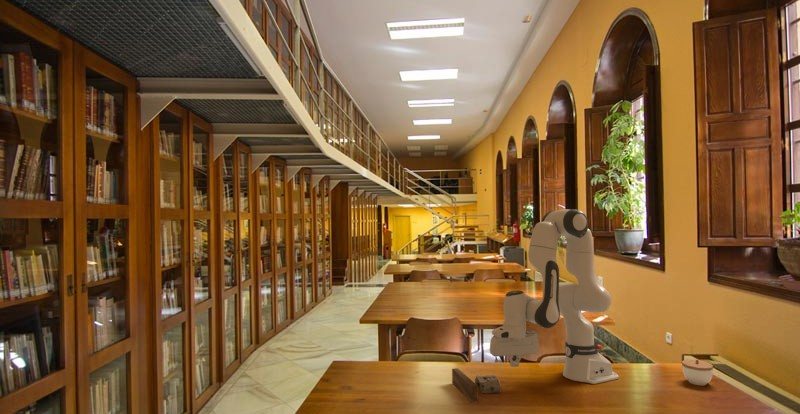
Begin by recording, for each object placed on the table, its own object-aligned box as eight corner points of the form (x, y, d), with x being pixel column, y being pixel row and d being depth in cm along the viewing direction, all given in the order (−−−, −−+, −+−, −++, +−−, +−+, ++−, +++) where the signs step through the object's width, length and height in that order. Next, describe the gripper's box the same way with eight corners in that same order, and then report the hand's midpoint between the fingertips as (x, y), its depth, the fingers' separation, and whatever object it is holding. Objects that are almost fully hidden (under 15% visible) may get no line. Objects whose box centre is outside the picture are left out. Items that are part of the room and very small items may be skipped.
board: (458, 382, 192) (457, 368, 192) (477, 401, 173) (477, 385, 173) (452, 383, 191) (452, 368, 191) (471, 402, 172) (471, 386, 172)
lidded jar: (686, 376, 197) (685, 354, 197) (716, 382, 189) (715, 359, 190) (678, 382, 190) (678, 359, 190) (709, 389, 182) (709, 365, 182)
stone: (473, 374, 193) (498, 373, 192) (475, 389, 192) (500, 387, 190) (474, 380, 180) (500, 378, 179) (475, 395, 179) (502, 394, 178)
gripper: (533, 328, 193) (533, 362, 193) (488, 330, 189) (488, 365, 188) (541, 332, 187) (541, 366, 187) (495, 334, 182) (494, 370, 182)
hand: (514, 366), depth 187 cm, fingers closed
